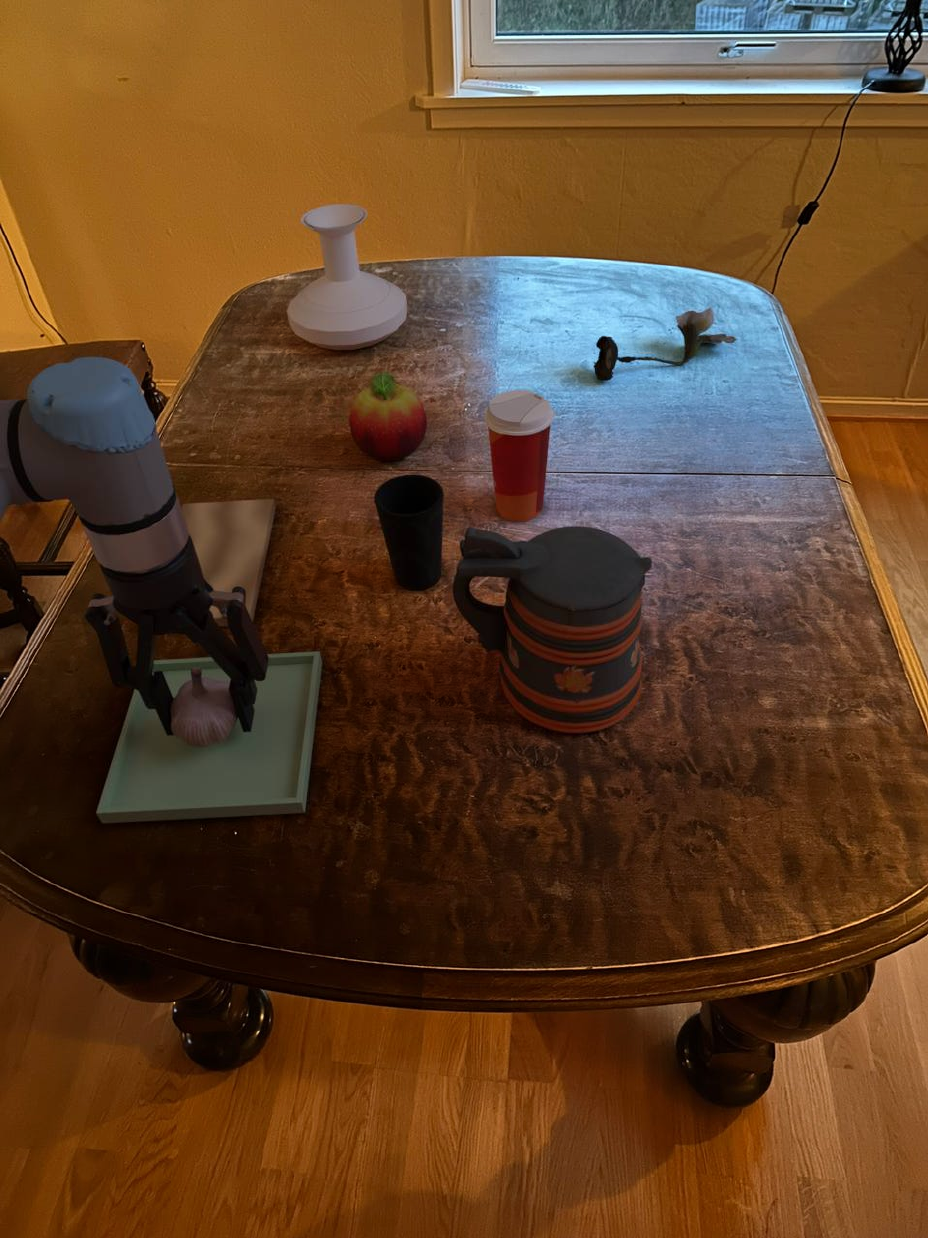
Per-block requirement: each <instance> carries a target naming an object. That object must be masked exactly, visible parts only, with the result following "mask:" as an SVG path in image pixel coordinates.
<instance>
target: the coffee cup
mask: <svg viewBox="0 0 928 1238" xmlns="http://www.w3.org/2000/svg"><path fill="white" fill-rule="evenodd" d="M487 405H488V406H487V409H485V413H484V421H485V423H486V425H487V431H488V440H489V451H490V460H491V470H492V471H491V472H492V481H493V488H494V489H493V491H494V498H495V499H494V500H495V506H496V510H497V513H498V514H499V515H500V517H502V518H504V519H505V520H508V521H512V522H526V521H531V520H533V519H535V518H537V517H538V516H539V515H540V514H541V513H542V511H543V506H544V501H545V500H544V499H545V489H546V479H547V471H548V470H547V468H548V458H549V457H548V456H549V446H550V445H549V444H550V434H551V424H552V423H553V421H554V419H555V412H554V411H553V408H552V407H551V403H550V401H549V400H548V399H547V398H546V399H545V397H544V396H542V395H540V394H538V393H535V392H534V391H532V390H527V389H514V390H508V391H504V392H502V393H498V394H497V395H496V396H494V397H493V398H492V399H491V400H490V401H489V403H488V404H487Z"/></svg>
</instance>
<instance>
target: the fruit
mask: <svg viewBox="0 0 928 1238" xmlns="http://www.w3.org/2000/svg"><path fill="white" fill-rule="evenodd" d="M370 385H371V386H369V387H367V388H365V389H363V390H362V391H360V392H359V393H357V395H356V396H355V397H354V400H353V402H352V404H351V406H350V412H349V417H348V422H349V423H348V424H349V430H350V435H351V437H352V439H353V442H354V444H356V446H357V447H358V448H359V449H360V450H361V451H362V452H363V454H365V455H367V456H369V457H370V458H373V459H374V460H379V461H382V462H393V461H394V462H395V461H400V460H403V459H405V458H407V457H408V456H410V455H412V454H413V453H414V452H415V451H416V450H417V449H418V448H419V447H420V446H421V445H422V443H423V441H424V439H425V436H426V433H427V428H428V417H427V415H426V414H427V413H426V411H425V408H424V407H425V406H424V405H423V402H422V401H421V399H420V397H419V396H418V394H417V393H416V392H415V391H413V390H412V389H410V388H408V387H407V386H404V385H402V384H398V383H395V377H394V376H393V375H391V374H389V373H387V372H386V371H385V370H383V371H381V372H380V373H378V374H377V375H375V376H373V377H372V378H371V380H370Z"/></svg>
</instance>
